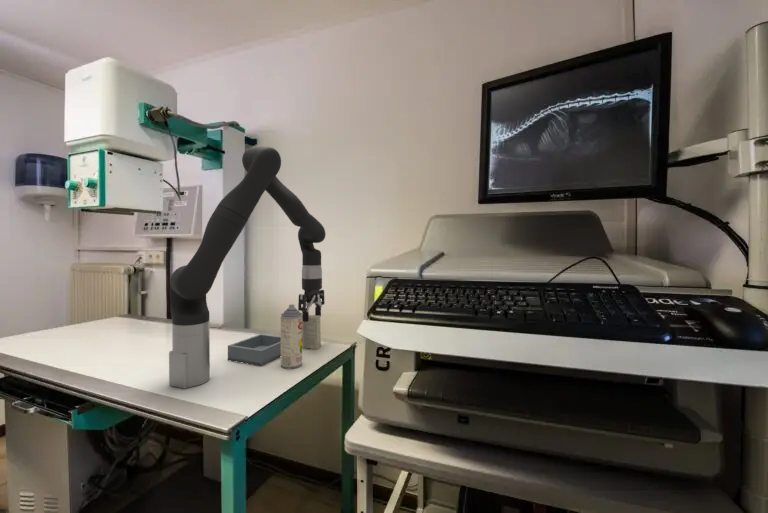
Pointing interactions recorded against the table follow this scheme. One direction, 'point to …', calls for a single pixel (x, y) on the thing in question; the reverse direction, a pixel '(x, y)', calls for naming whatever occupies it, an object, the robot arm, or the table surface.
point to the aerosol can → (291, 338)
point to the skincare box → (311, 332)
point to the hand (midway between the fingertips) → (312, 319)
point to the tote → (256, 350)
